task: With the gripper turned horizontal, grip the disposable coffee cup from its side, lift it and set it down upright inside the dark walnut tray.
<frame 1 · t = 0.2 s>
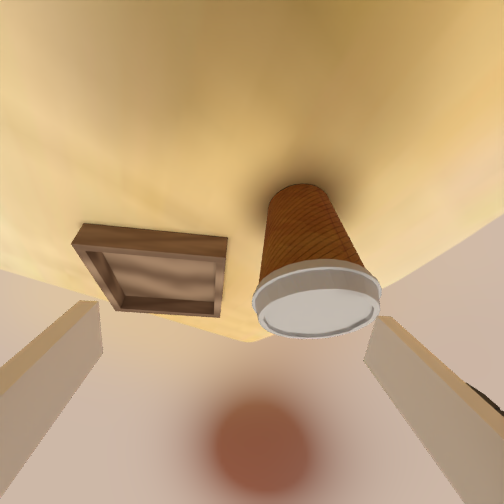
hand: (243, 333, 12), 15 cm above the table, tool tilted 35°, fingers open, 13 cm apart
disposable coffee cup: (298, 207, 25), on the table
walnut tray: (166, 270, 34), on the table
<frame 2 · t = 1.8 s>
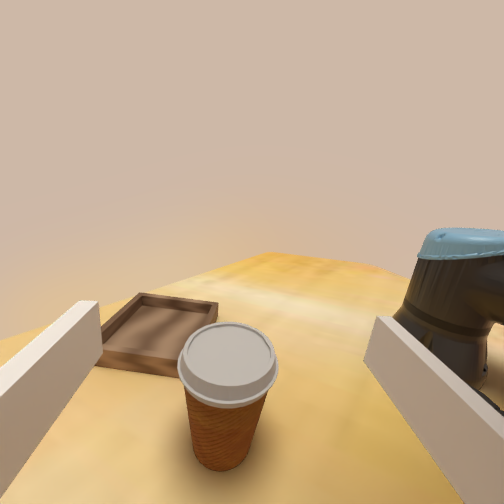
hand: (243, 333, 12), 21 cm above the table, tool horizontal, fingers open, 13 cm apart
disposable coffee cup: (222, 439, 27), on the table
walnut tray: (161, 335, 42), on the table
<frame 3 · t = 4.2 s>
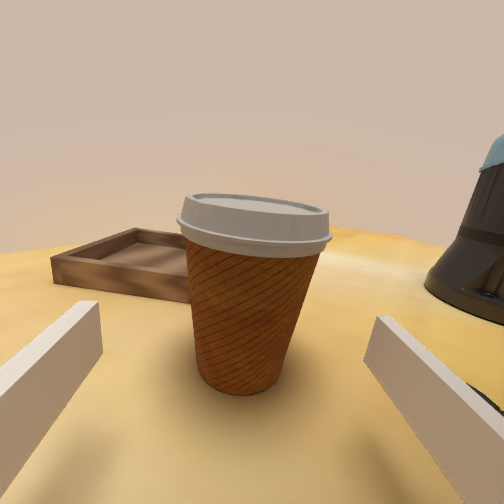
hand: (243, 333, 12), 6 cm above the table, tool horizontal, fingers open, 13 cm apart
disposable coffee cup: (239, 362, 19), on the table
walnut tray: (158, 267, 34), on the table
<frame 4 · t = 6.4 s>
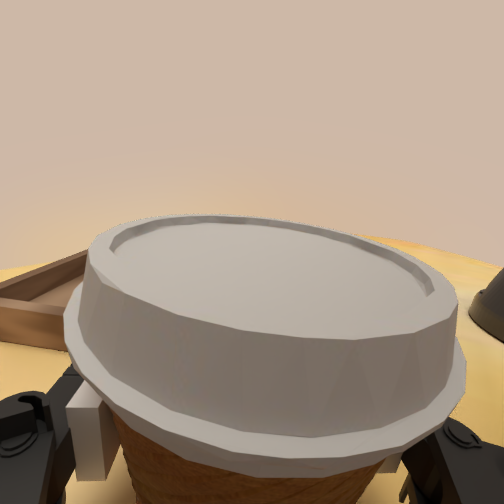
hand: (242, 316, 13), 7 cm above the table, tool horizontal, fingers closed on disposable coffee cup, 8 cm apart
walnut tray: (129, 299, 25), on the table
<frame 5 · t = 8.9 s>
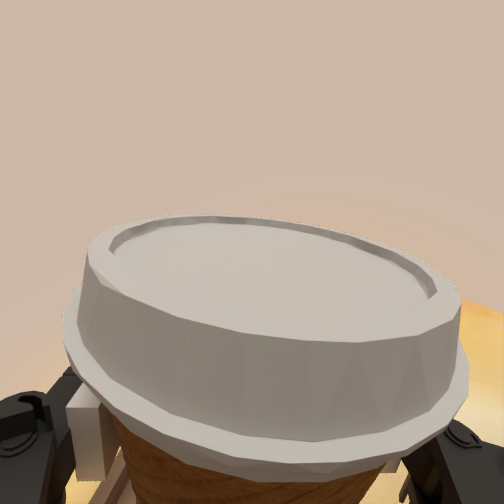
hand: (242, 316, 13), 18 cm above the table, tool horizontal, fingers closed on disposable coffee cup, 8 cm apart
when the fingers open (9 cm above the table, at t = 11.4 s): disposable coffee cup drops 1 cm, resting on walnut tray.
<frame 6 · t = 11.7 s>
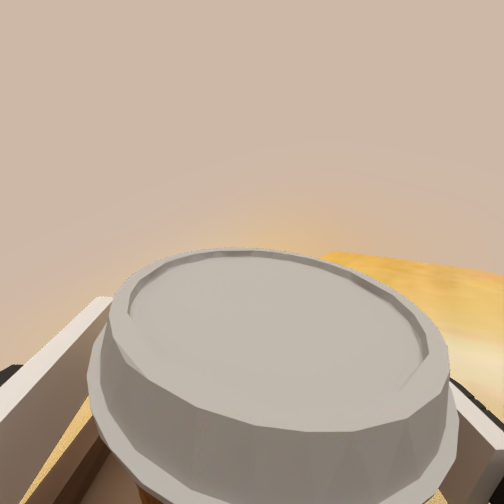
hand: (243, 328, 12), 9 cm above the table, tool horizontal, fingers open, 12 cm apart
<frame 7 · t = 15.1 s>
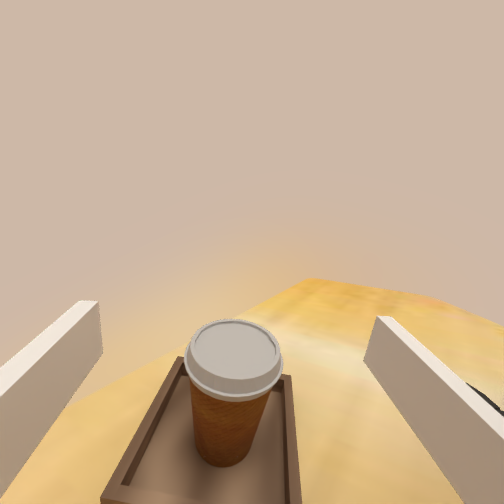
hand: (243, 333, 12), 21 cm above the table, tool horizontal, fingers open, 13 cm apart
disposable coffee cup: (223, 436, 27), point 1 cm above the table, touching walnut tray
walnut tray: (219, 439, 27), on the table
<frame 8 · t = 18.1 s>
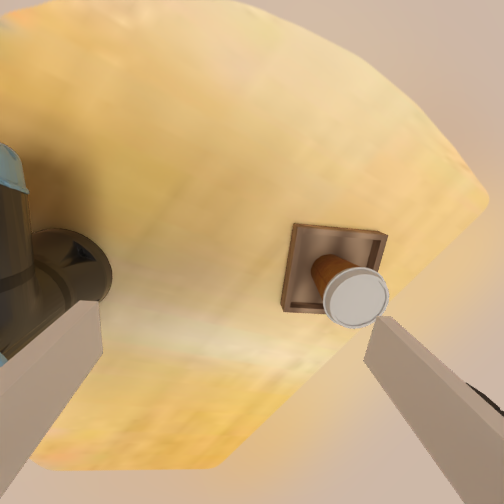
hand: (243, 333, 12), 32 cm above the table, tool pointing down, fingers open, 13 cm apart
disposable coffee cup: (326, 269, 46), point 1 cm above the table, touching walnut tray
walnut tray: (327, 268, 46), on the table
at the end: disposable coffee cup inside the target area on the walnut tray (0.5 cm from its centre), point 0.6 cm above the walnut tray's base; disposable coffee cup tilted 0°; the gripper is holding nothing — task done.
